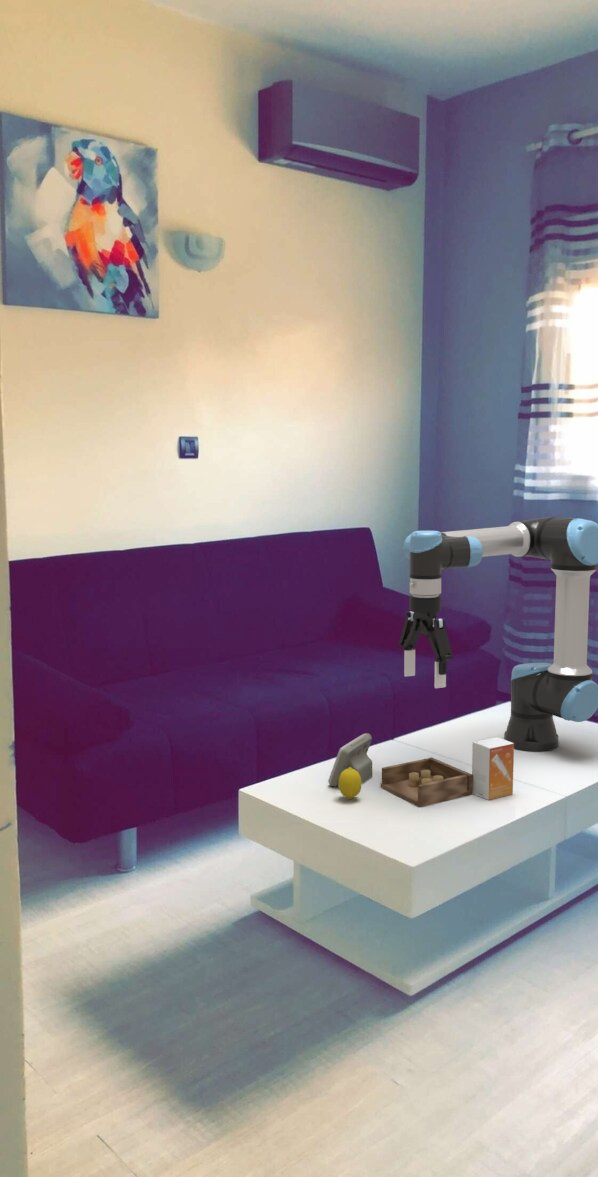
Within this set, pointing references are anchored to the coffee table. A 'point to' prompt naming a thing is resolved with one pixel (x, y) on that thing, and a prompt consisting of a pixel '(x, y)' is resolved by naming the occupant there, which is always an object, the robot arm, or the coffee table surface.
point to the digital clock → (353, 759)
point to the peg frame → (426, 781)
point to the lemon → (349, 783)
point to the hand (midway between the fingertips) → (424, 681)
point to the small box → (492, 768)
